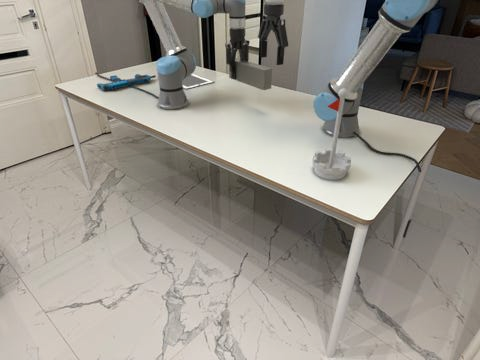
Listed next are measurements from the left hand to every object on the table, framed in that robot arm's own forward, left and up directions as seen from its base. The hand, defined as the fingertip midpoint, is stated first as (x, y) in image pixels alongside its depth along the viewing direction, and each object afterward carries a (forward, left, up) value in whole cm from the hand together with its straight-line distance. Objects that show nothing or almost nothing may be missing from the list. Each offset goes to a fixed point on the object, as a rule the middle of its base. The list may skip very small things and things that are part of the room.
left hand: (237, 77), depth 172 cm
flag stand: (+75, -16, -13) cm, 78 cm away
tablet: (-53, -2, -13) cm, 54 cm away
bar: (+9, 0, -1) cm, 9 cm away
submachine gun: (-70, -34, -13) cm, 79 cm away
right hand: (+30, -5, +15) cm, 34 cm away
